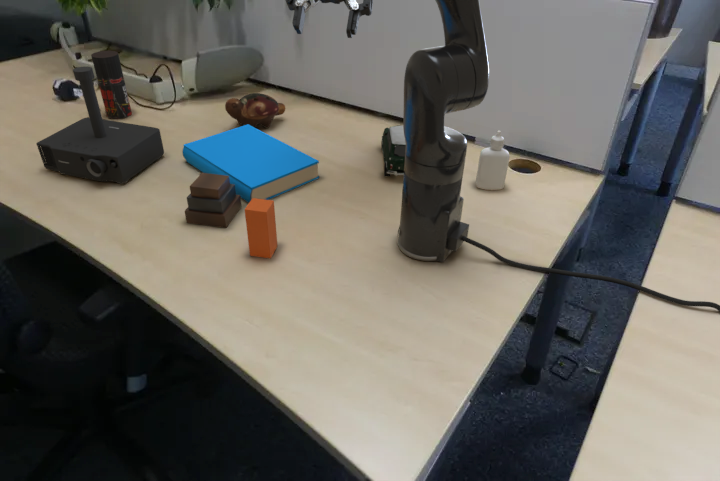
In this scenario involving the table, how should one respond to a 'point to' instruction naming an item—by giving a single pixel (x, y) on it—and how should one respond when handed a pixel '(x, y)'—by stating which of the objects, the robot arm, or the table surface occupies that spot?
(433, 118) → the robot arm
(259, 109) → the decorative turtle
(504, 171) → the eye dropper bottle
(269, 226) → the bar
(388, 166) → the miniature car
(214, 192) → the brown stepped pyramid
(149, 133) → the projector
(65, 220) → the table surface
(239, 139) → the book
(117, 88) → the deodorant
